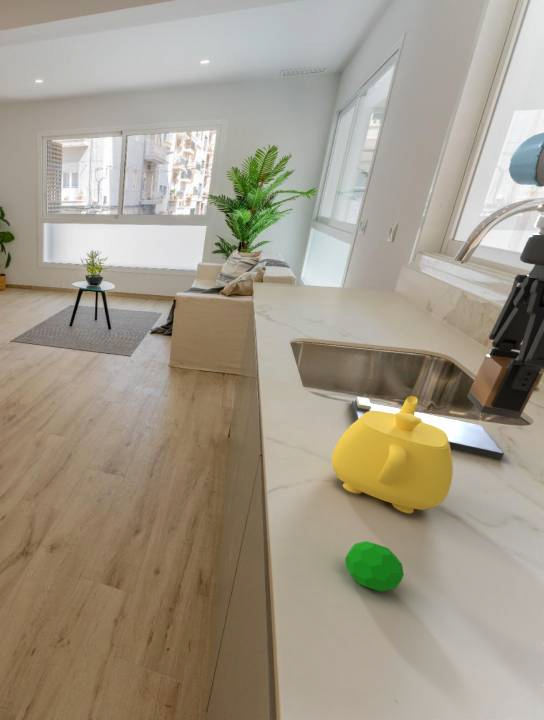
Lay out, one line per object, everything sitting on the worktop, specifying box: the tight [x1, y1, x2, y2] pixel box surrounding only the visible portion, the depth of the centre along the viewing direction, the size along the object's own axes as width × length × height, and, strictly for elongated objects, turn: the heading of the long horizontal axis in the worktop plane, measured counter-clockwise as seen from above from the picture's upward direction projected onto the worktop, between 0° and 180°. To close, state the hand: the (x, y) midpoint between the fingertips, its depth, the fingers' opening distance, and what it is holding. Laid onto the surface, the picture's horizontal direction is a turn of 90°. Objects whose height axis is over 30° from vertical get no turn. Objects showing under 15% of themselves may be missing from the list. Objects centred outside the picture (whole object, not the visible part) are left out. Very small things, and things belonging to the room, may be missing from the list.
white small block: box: [419, 417, 438, 427], centre depth 78 cm, size 2×4×1 cm, turn 151°
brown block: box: [466, 354, 543, 420], centre depth 61 cm, size 4×6×7 cm, turn 151°
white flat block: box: [355, 396, 371, 410], centre depth 86 cm, size 2×4×1 cm, turn 151°
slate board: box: [350, 399, 504, 461], centre depth 80 cm, size 20×11×2 cm, turn 61°
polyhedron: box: [344, 540, 405, 592], centre depth 47 cm, size 5×5×5 cm
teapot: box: [331, 395, 454, 514], centre depth 61 cm, size 13×20×12 cm
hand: (495, 398), depth 62 cm, fingers closed on brown block, 6 cm apart
